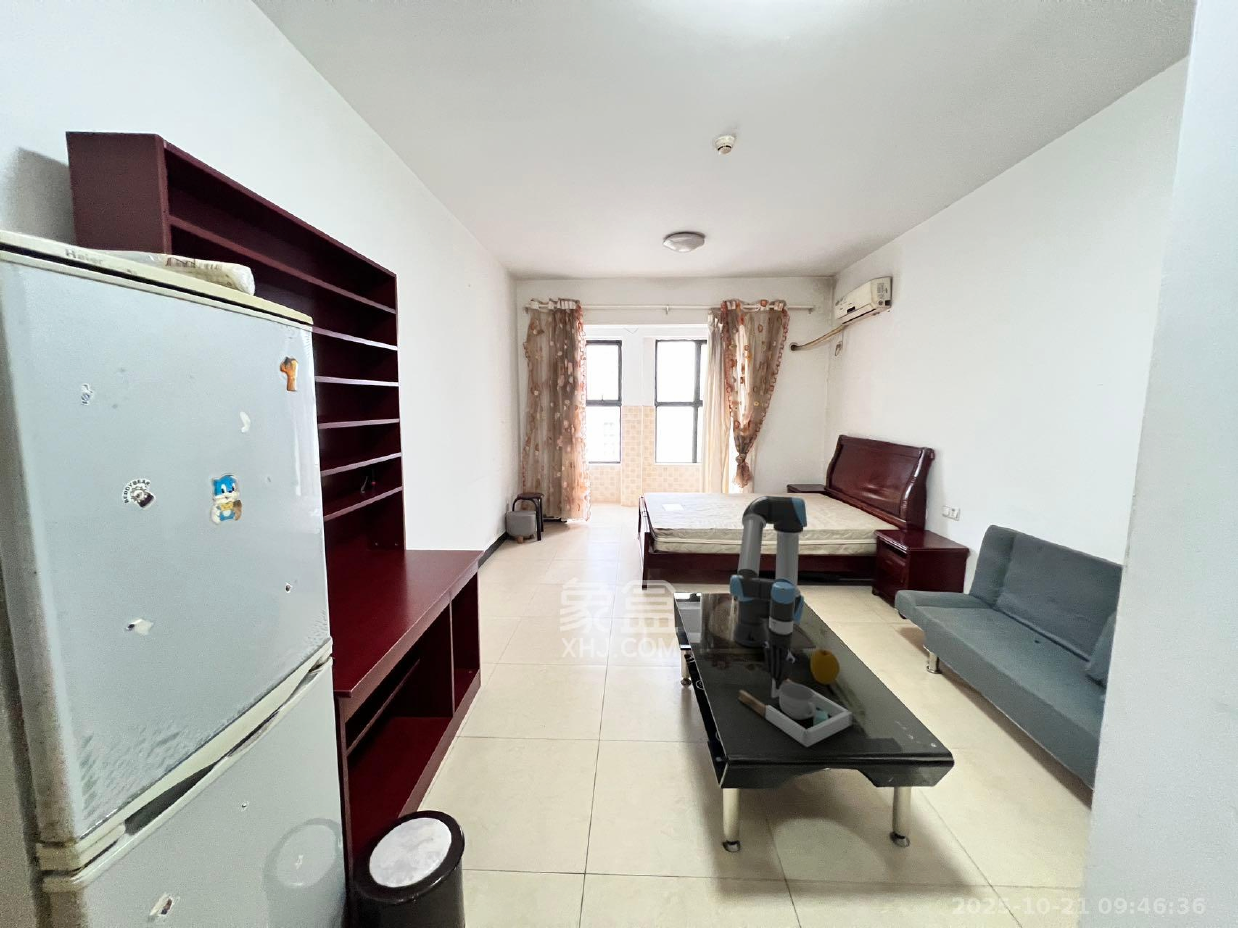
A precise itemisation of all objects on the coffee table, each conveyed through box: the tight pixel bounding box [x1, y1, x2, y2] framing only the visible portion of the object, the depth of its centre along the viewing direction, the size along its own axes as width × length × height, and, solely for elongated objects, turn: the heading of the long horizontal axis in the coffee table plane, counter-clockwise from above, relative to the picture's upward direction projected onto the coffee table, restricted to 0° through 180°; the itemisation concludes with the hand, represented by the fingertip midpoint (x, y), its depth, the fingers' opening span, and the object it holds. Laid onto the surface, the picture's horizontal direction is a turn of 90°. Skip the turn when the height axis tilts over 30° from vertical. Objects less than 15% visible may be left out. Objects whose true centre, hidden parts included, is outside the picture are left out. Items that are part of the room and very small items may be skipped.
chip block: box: [812, 709, 829, 727], centre depth 144 cm, size 4×4×4 cm
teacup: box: [778, 682, 818, 721], centre depth 149 cm, size 14×11×8 cm
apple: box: [810, 648, 841, 685], centre depth 170 cm, size 10×10×12 cm
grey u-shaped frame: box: [765, 689, 853, 748], centre depth 147 cm, size 16×21×4 cm
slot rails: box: [738, 678, 795, 719], centre depth 158 cm, size 12×21×3 cm, turn 120°
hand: (775, 696), depth 157 cm, fingers closed
